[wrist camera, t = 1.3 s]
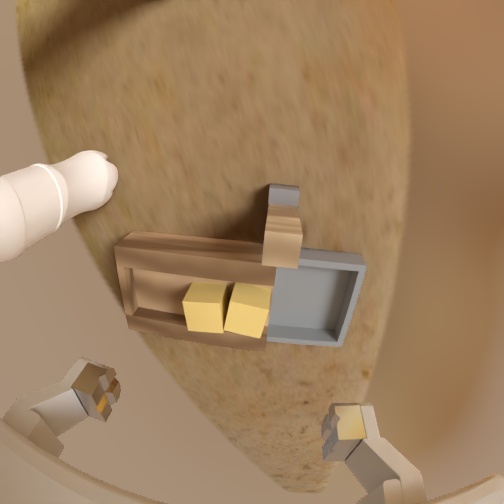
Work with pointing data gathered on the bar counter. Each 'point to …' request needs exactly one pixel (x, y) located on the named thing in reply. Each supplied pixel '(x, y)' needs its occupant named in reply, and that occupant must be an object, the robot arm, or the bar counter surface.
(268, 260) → the wooden post on base
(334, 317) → the tray
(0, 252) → the water bottle
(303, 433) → the bar counter surface
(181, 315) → the brown wooden tray
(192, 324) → the pale yellow block
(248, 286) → the pale yellow cube
